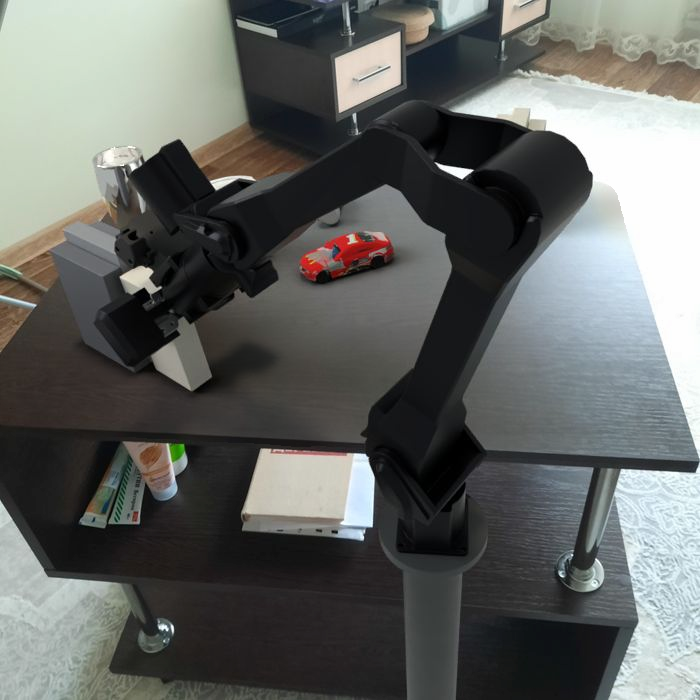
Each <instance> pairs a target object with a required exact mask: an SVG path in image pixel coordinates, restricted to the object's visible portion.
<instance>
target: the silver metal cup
mask: <svg viewBox="0 0 700 700" xmlns="http://www.w3.org/2000/svg"><path fill="white" fill-rule="evenodd" d="M145 161H146V159H145V157H144V154H143V150H142V149H141V148H139V147H138V146H135V145H134V146H133V145H119V146H113V147H109V148H105V149H103V150H101V151H99V152H98V153H96V154H95V155H94V156H93V157H92V161H91V163H92V165H93V169H94V173H95V174H94V175H95V179H96V184H97V185H98V190H99V193H100V196H101V198H102V201H103V203H104V206H105V208H106V209H107V212H108V214H109V216H110V217H111V219H112V221H113V224H114V225H115V228H116V229H119V230H120V229H121V228H123V227H125V226H127V225H128V222H129V220H131V219H132V218H134V217H136V216H138V215H140V214H142V213H144V212H145V211H147V210H149V209H150V208H149V207H148V205H147V204H146V203H145V201H144V200H143V199H142V197H141V196H140V195H139V193H138V192H137V191H136V189H135V188H134V187H133V185H132V184H131V183H130V181H129V179H128V178H129V175H130V173H131V172H132V171H133V170H134V169H136V168H138V167H140V166H141V165H142V164H143V163H144V162H145Z"/></svg>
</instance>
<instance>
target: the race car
mask: <svg viewBox="0 0 700 700" xmlns="http://www.w3.org/2000/svg"><path fill="white" fill-rule="evenodd" d="M394 251H395V250H394V246H393V244H392V242H391V239H390V238H389V237H388V236H387V234H386V233H384V232H382V231H374V230H373V231H366V230H365V231H357V232H351V233H347V234H344V235H343V234H342V235H340V236H337V237H335V238H333V239H331V240H330V241H329V240H326V242H325V244H324V245H323V246H320V247H318V248H315V249H312V250H310V251H308V252H306V253H305V254H303V256H302V257H301V258H300V261H299V265H298V268H299V269H298V270H299V274H300V275H301V276H302V277H304V278H305V279H306V280H309V281H313V282H318V283H319V284H325V283H327V282H328V281H330V279H334V278H335V279H336V278H337V277H338V278H339V277H341V276H345V275H348V274H352V273H356V272H359V271H364V270H366V269H367V270H368V269H370V268H371V267H372V268H373V269H378V268H380V267H382V266H383V264H386V263H388V262H389V261H391V260H392V259H393V258H394V255H395V252H394Z"/></svg>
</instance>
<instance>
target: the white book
mask: <svg viewBox="0 0 700 700" xmlns="http://www.w3.org/2000/svg"><path fill="white" fill-rule="evenodd" d="M152 273H153V271H152V269H150V268H145V267H144V266H138V267H137V268H135V269H132V270H130V271H129V272H127V273H125V274H123V275H122V276H120V280H121V282H122V285H123V287H124V290H125V292H126V293H127V292H128V293H130V294H131V295H132V294H134V293H135V292H137V291H139V290H140V289H142V288H144V287H145V288H146V290H147V291H148V292H149V294H150V295H152V294H153V293H155V292H156V291H158V290H159V289H161V288H162V287H161V286H160V287H158V288H156V287H155V285H154V284H153V283H152V281H151V280H150V279H149V277H150V276H151V274H152ZM164 300H165V299H164V298H163V300H161V301H162V302H163V301H164ZM169 312H170V313H171V312H172V313H173V310H170V311H169ZM178 322H179V327H178V329H177V330H178V332H179V333H180V334H181V335H180V336H179V337H177V338H176V339H174V340H173V341H171V342H170V343H168V344H167V345H165V346H164V347H163V348H161V349H160V350H159V351H157V352H156V353H155V354H153V355H152V356H151V358H152V360H153V361H152V363H153V365H154V368H155V370H157V372H160V373H161V374H163V375H164V376H166V377H168V378H169V379H170V380H173V381H174V382H176V383H177V384H179V385H181V386H182V387H184V388H186V389H187V390H188V391H190V392H194V391H195V390H196V389H197V388H199V387H200V386H202V385H203V384H204V383H206V382H207V381H209V380H210V379H212V378H213V375H212V373H211V370H210V366H209V362H208V360H207V357H206V354H205V352H204V348H203V345H202V342H201V339H200V336H199V333H198V330H197V328H196V325H195V322H194V323H192V324H191V325H190V324H189V323H188V322H187V320H186V319H185V318H184V317H182V318H181V319H179V320H178Z"/></svg>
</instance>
